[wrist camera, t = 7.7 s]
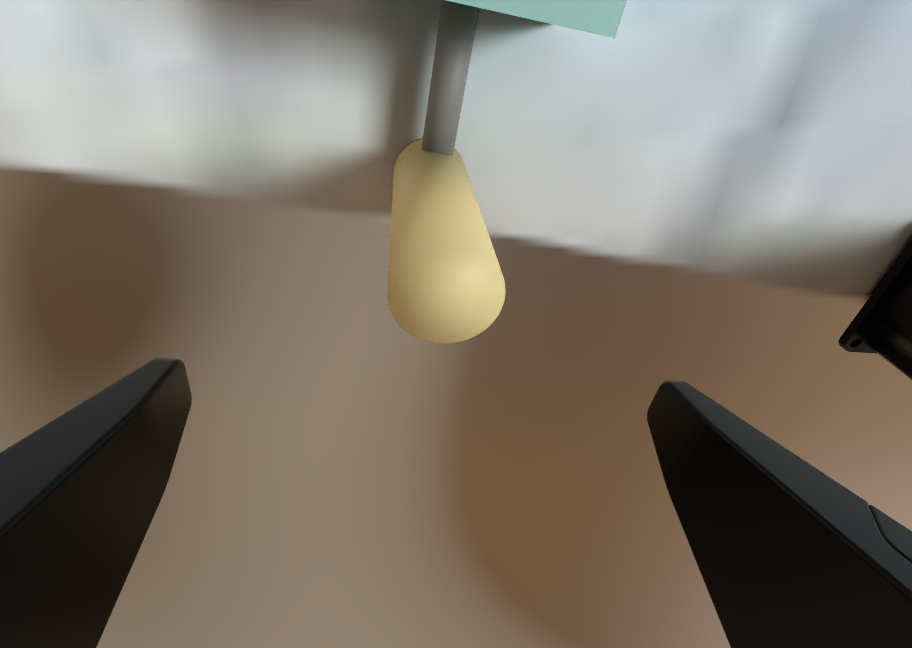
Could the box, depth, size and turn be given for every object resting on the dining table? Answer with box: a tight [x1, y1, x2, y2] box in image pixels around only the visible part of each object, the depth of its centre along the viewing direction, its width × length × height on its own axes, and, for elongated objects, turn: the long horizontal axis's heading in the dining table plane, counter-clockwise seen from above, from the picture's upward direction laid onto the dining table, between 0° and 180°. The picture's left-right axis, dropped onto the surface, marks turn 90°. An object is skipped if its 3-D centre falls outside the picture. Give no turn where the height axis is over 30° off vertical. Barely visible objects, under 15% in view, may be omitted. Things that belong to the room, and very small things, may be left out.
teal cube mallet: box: [387, 0, 627, 344], centre depth 11 cm, size 12×6×8 cm, turn 169°
